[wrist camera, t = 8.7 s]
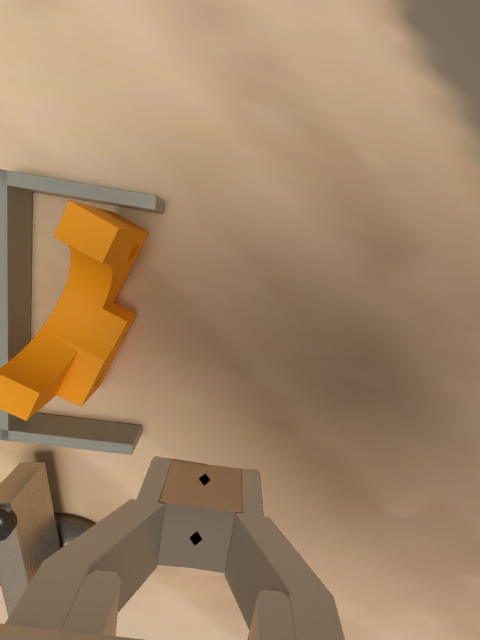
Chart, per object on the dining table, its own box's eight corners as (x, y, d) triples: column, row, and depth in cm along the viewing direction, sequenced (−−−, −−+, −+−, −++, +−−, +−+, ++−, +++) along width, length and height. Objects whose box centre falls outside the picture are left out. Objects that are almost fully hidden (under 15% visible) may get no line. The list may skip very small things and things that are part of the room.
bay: (164, 200, 22) (156, 195, 19) (141, 434, 26) (131, 454, 23) (16, 176, 21) (-11, 167, 19) (16, 419, 25) (-7, 438, 23)
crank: (77, 588, 27) (41, 670, 22) (41, 590, 27) (-4, 673, 22) (55, 459, 25) (7, 518, 19) (14, 460, 24) (-45, 520, 19)
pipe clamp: (99, 385, 25) (56, 434, 18) (45, 359, 24) (-19, 400, 18) (172, 245, 23) (150, 246, 16) (115, 212, 22) (69, 200, 16)
